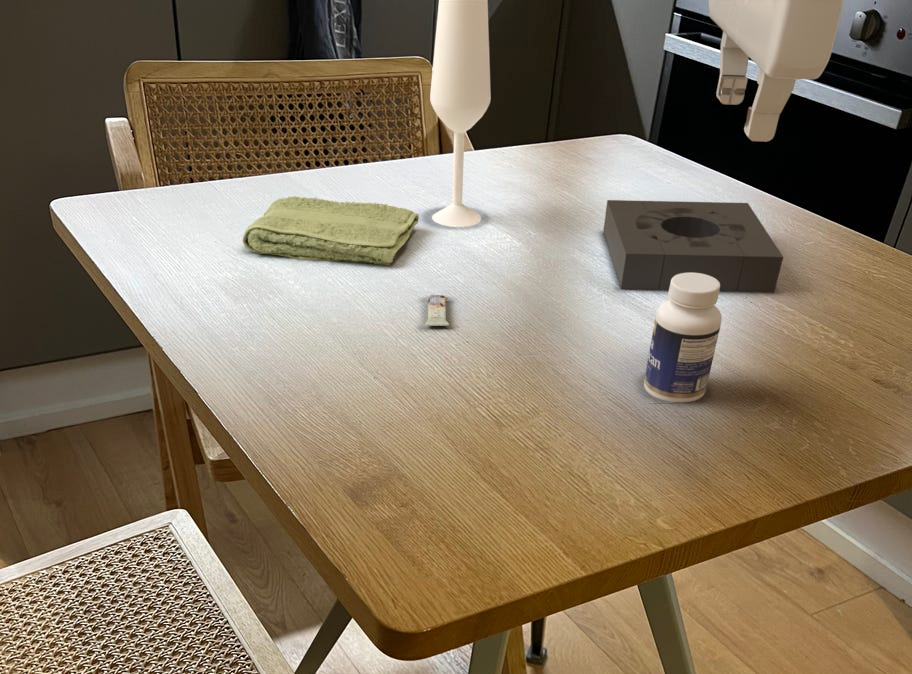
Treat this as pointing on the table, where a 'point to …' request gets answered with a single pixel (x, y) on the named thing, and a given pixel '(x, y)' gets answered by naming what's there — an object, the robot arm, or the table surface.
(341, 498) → the table surface
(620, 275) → the block
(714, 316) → the pill bottle
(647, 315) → the table surface
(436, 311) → the granola bar
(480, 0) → the champagne flute
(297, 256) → the washcloth
